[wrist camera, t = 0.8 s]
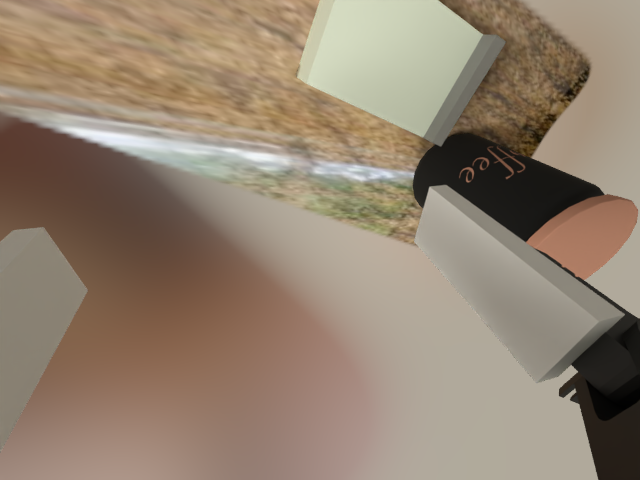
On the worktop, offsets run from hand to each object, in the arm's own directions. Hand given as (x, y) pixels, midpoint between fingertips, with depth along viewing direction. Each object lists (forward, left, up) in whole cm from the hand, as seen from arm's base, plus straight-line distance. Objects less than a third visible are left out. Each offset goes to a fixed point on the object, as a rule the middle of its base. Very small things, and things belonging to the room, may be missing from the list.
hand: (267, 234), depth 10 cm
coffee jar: (+20, +16, -22) cm, 34 cm away
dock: (+3, +13, -21) cm, 25 cm away
